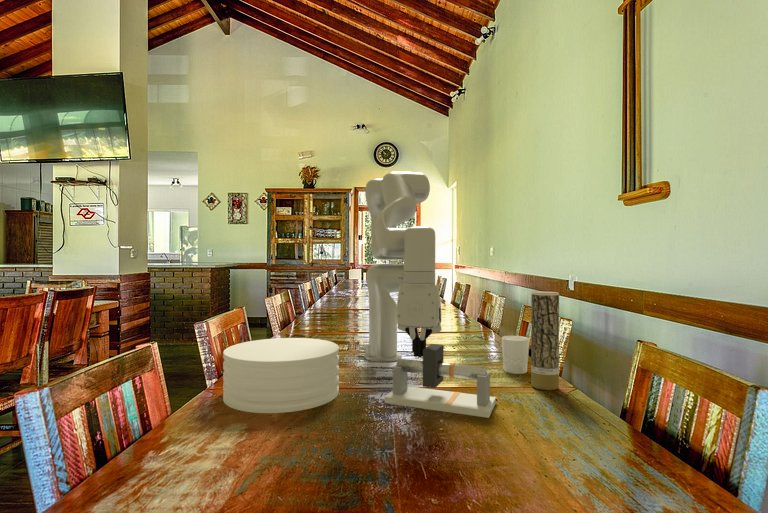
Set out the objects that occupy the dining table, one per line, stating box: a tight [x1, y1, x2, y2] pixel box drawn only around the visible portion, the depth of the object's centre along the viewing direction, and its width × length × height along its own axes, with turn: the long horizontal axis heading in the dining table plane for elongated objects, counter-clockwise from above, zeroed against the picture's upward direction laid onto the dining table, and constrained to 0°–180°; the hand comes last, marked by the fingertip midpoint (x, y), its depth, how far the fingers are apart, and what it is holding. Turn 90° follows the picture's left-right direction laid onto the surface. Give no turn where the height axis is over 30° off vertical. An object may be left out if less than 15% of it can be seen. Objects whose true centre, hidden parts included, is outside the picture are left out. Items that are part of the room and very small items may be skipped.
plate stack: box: [222, 337, 340, 414], centre depth 110 cm, size 28×28×12 cm
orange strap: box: [445, 362, 461, 406], centre depth 102 cm, size 1×10×8 cm, turn 157°
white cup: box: [501, 335, 530, 375], centre depth 132 cm, size 8×8×10 cm
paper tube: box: [530, 290, 560, 391], centre depth 116 cm, size 7×7×25 cm
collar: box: [422, 343, 445, 389], centre depth 104 cm, size 3×7×8 cm, turn 157°
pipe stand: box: [384, 364, 497, 419], centre depth 103 cm, size 24×10×8 cm, turn 67°
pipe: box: [395, 358, 488, 381], centre depth 103 cm, size 21×3×3 cm, turn 67°
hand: (419, 355), depth 105 cm, fingers closed
